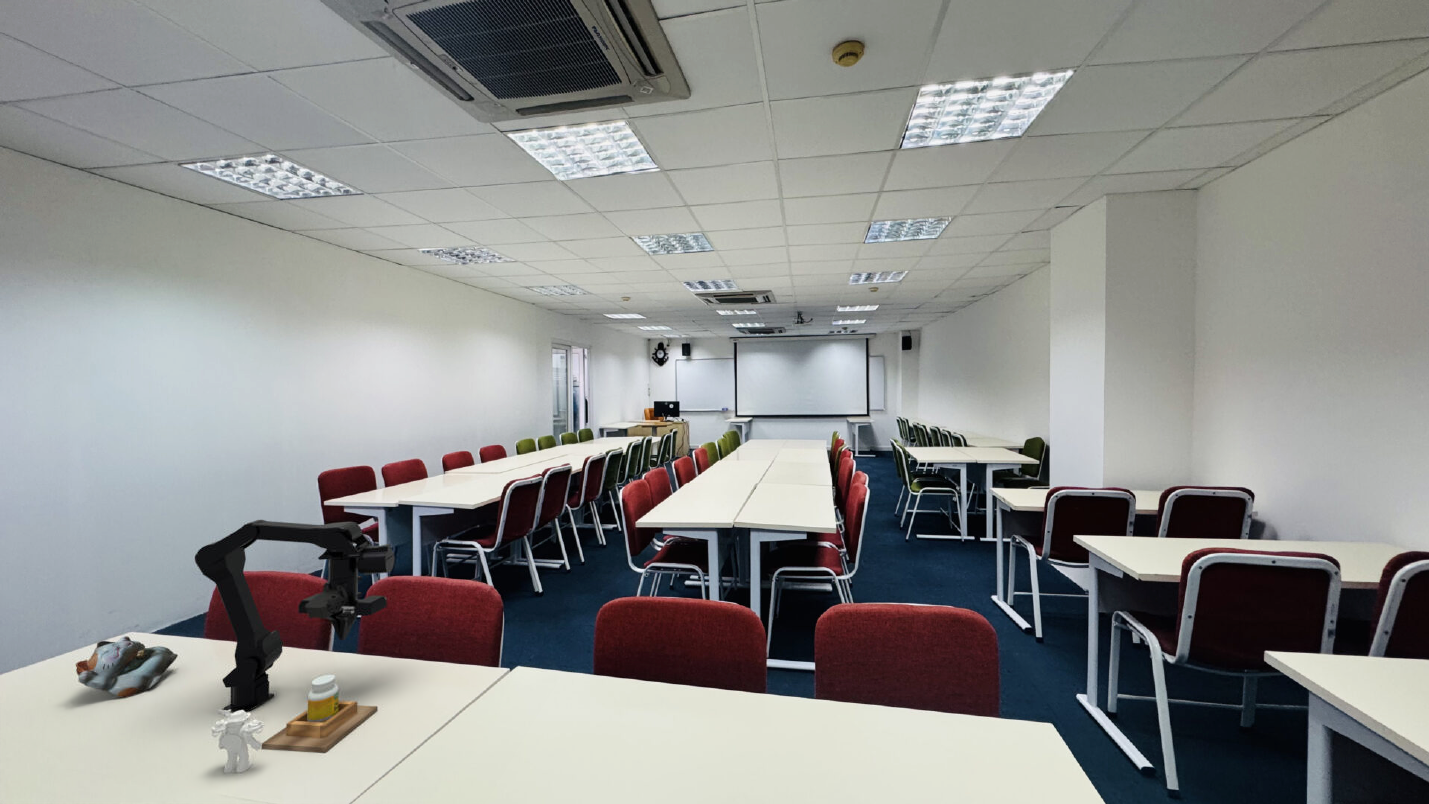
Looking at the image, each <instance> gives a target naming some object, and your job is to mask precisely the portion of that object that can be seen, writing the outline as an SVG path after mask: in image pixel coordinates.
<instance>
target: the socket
mask: <svg viewBox="0 0 1429 804" xmlns="http://www.w3.org/2000/svg"><path fill="white" fill-rule="evenodd" d="M378 711H379V710H378V706H374V705H359V704H358V701H349V700H339V703H338V713H337V714H336V715H334V716H333V717H331V718H330V719H329V720H327V721H326V722H325V723H320V722H307V709H306V710H305V711H303V712H302V713H300V714H298V715H297V716H296V717H294V718H293V719H292V720H290V721H288V722H287V723H286V726H285V727H284V728H282V729H281V730H280V731H278V732H277V733H275V734H273V735H272V736H271V737H269V738H268V739H266V740H265V741H263V742H262V746H261V749H262V750H277V751H294V752H308V753H309V752H310V753H321V754H322V753H323V754H326V753H327V752H328V751H330V750H331V749H332V748H333V747H334V746H335V745H337V744H338V743H339V742H341V741H342V740H343V739H345V738H346V737H347V736H348V735H349V734H351V733H352V732H353V731H354V730H356V729H357V728H358V727H359V726H361V725H362V724H363V723H364V722H366V721H367V720H368V719H369V718H370V717H372V716H373V715H374V714H375V713H377V712H378Z"/></svg>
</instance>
